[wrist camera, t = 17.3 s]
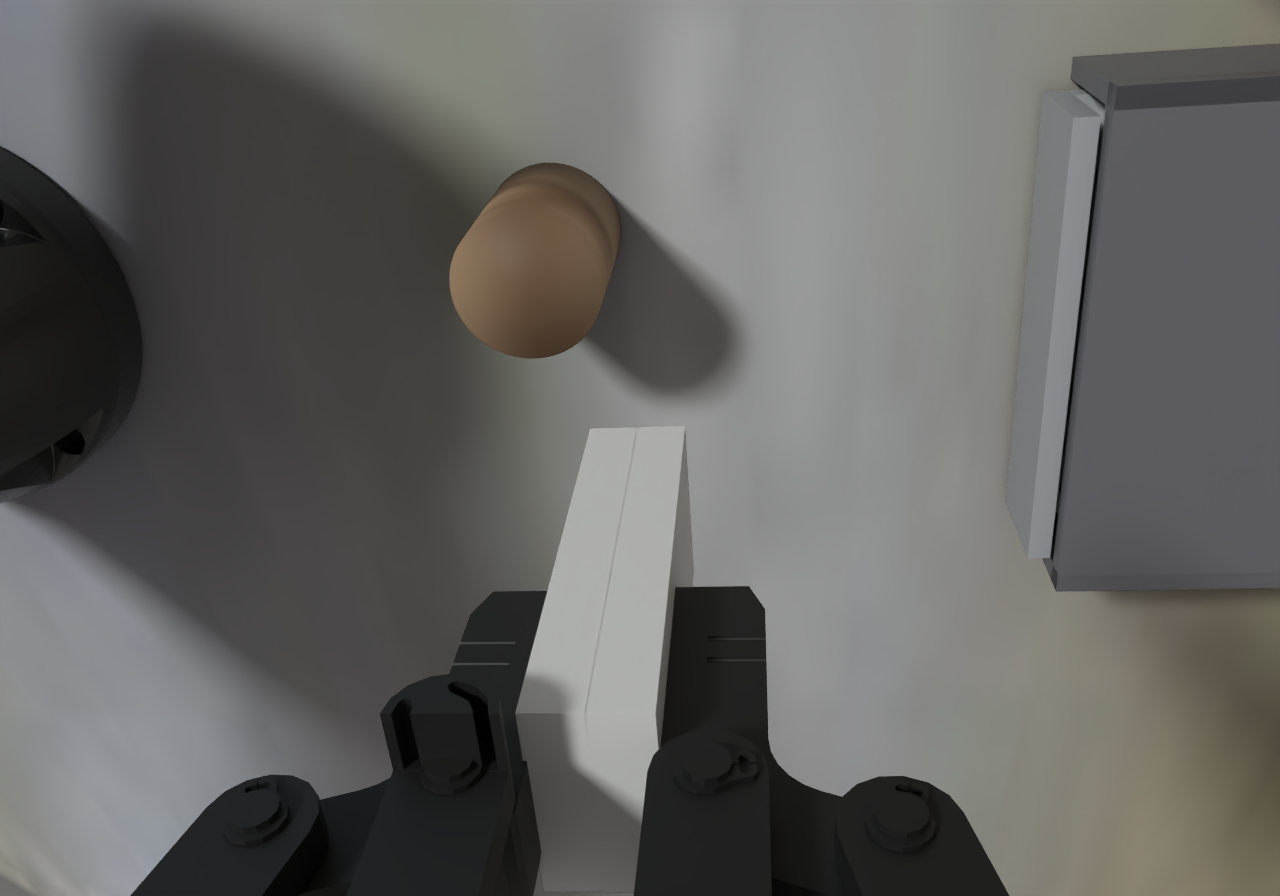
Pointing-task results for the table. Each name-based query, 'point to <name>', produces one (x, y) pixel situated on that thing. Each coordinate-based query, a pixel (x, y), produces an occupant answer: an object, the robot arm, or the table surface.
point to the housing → (1178, 330)
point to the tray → (1052, 309)
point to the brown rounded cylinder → (537, 261)
